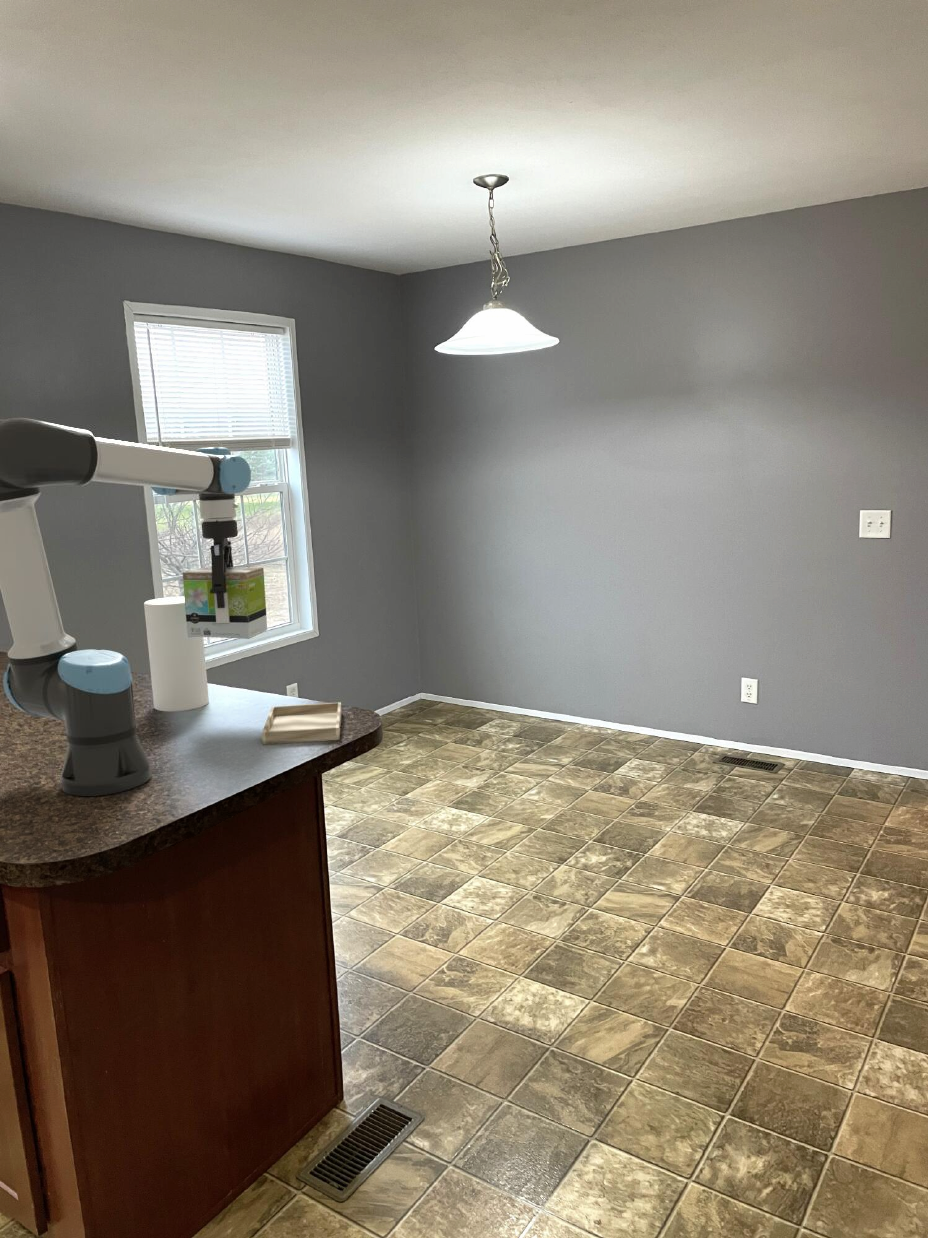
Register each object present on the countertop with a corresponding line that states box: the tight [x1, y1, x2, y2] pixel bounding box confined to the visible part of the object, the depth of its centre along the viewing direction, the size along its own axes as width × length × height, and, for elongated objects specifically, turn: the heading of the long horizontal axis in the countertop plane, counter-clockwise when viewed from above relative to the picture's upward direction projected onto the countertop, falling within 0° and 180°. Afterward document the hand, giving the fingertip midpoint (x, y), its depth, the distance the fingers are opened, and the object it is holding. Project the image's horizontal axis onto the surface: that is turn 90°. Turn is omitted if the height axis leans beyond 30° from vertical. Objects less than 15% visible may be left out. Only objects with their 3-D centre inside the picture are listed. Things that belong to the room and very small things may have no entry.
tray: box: [261, 701, 343, 746], centre depth 197 cm, size 20×15×2 cm
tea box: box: [182, 566, 268, 640], centre depth 206 cm, size 15×10×15 cm, turn 78°
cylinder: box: [143, 595, 210, 712], centre depth 219 cm, size 12×12×25 cm
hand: (226, 618), depth 207 cm, fingers closed on tea box, 11 cm apart
